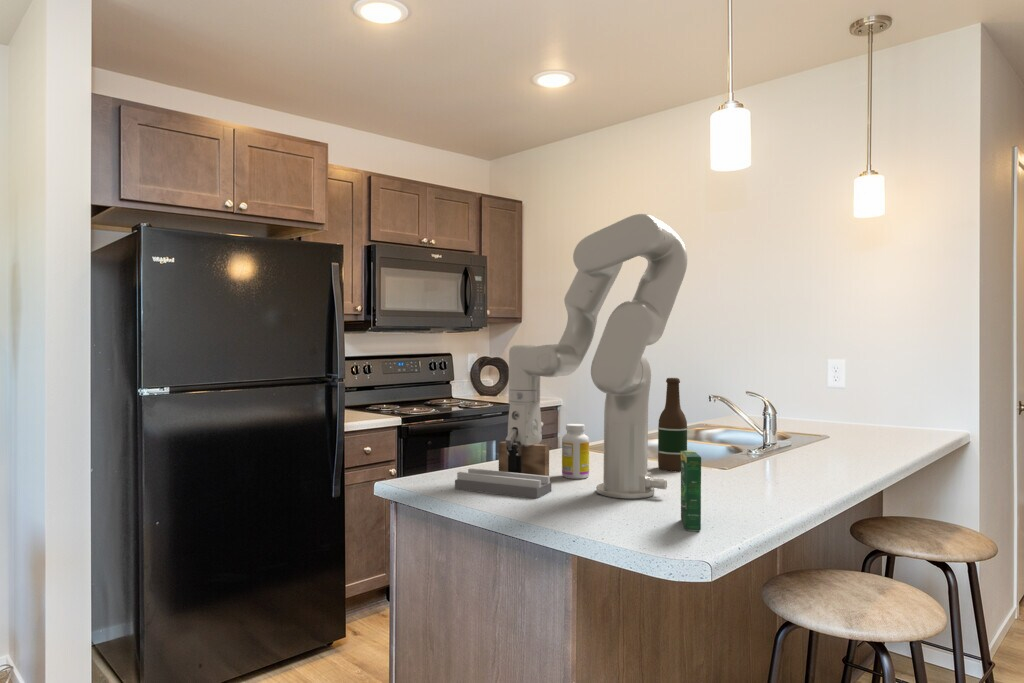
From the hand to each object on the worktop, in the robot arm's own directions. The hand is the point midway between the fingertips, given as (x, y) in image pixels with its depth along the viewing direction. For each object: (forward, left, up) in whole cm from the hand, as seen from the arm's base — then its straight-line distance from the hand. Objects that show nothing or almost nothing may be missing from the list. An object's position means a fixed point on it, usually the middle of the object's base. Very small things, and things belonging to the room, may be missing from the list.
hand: (523, 469), depth 159 cm
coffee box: (-43, +21, -3) cm, 48 cm away
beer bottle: (-28, -33, -3) cm, 43 cm away
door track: (0, +11, -3) cm, 11 cm away
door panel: (0, 0, -3) cm, 3 cm away
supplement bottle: (-9, -11, -3) cm, 15 cm away
